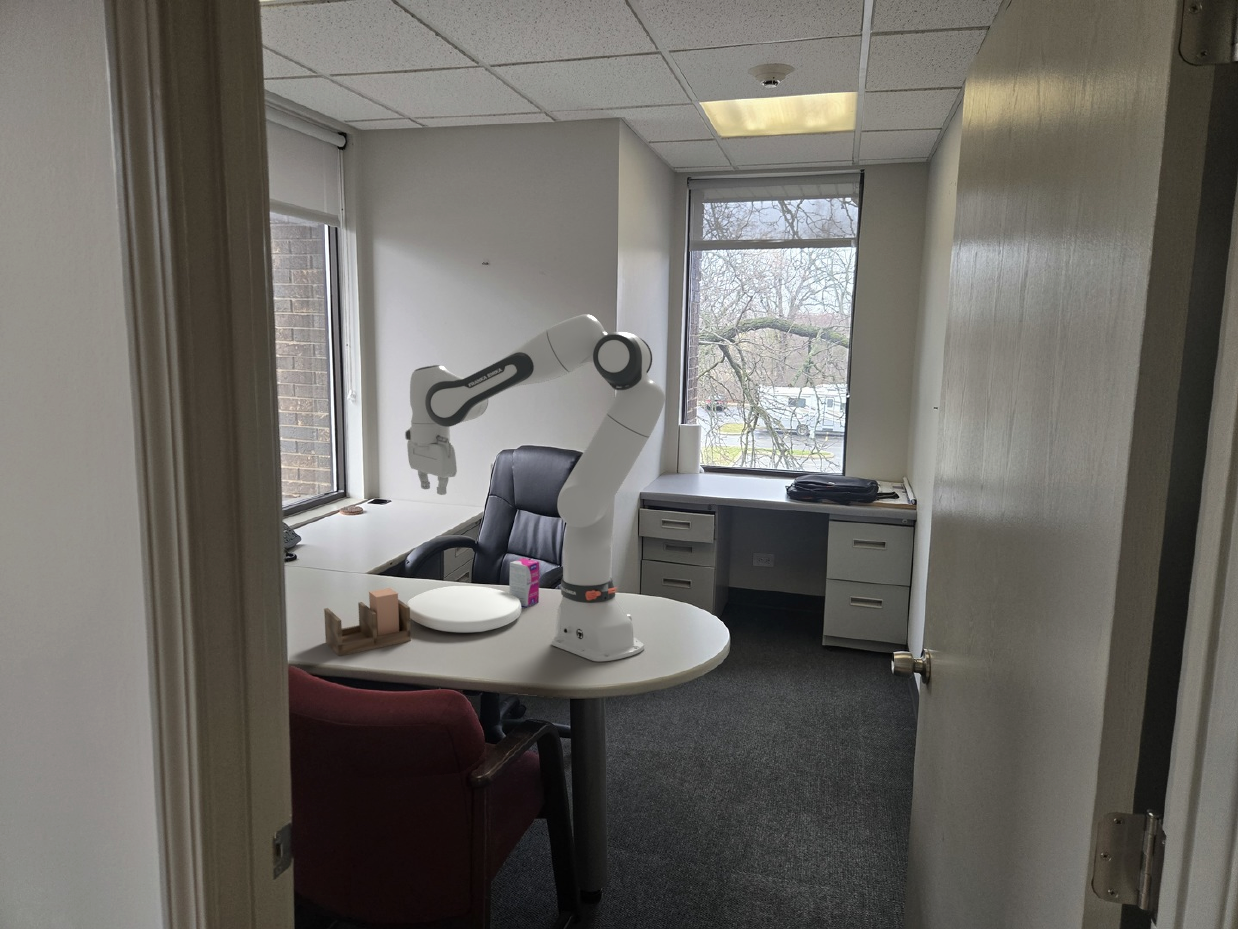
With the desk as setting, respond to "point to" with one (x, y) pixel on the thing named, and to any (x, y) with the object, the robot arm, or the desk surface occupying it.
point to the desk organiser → (364, 631)
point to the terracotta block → (385, 610)
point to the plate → (464, 608)
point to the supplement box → (525, 581)
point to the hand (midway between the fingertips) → (433, 491)
